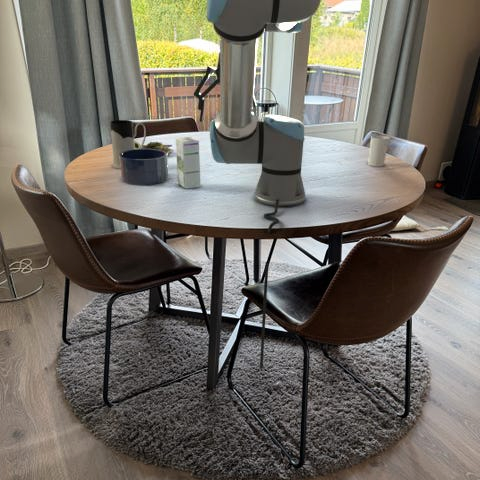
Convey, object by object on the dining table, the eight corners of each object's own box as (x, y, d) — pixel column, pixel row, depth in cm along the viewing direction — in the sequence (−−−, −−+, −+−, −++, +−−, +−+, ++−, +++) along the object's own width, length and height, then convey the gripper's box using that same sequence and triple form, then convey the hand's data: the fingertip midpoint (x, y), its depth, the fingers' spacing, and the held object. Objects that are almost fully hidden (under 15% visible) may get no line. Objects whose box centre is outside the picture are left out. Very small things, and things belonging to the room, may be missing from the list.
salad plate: (162, 145, 208) (162, 134, 206) (184, 154, 196) (184, 142, 193) (120, 151, 198) (118, 139, 196) (139, 160, 186) (138, 148, 184)
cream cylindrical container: (386, 166, 186) (391, 139, 181) (369, 166, 186) (373, 138, 181) (382, 162, 192) (386, 135, 187) (365, 162, 192) (369, 135, 187)
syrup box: (201, 186, 159) (200, 140, 152) (184, 189, 157) (182, 141, 149) (193, 182, 164) (192, 136, 156) (177, 184, 161) (175, 138, 153)
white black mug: (108, 165, 179) (103, 121, 172) (140, 159, 188) (137, 117, 180) (122, 170, 174) (117, 125, 166) (154, 163, 183) (151, 120, 175)
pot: (166, 185, 160) (165, 160, 156) (118, 184, 159) (115, 159, 155) (170, 172, 173) (168, 148, 169) (125, 172, 172) (123, 148, 168)
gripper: (272, 59, 155) (259, 130, 166) (194, 45, 155) (186, 116, 166) (270, 60, 148) (257, 134, 159) (189, 45, 149) (182, 119, 159)
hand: (221, 125), depth 163 cm, fingers open, 13 cm apart
